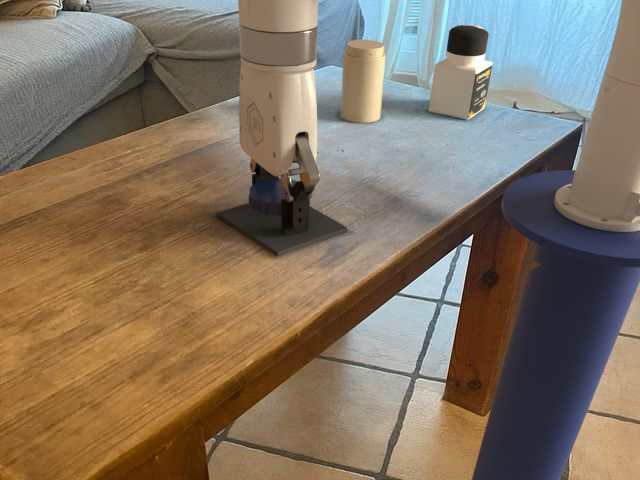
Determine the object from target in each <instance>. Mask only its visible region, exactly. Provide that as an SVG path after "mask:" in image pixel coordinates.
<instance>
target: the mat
mask: <svg viewBox="0 0 640 480" xmlns="http://www.w3.org/2000/svg"><path fill="white" fill-rule="evenodd" d="M216 216H217V218H219V219H221V220H222V221H224V222H225V223H226V224H228V225H229V226H231V227H232V228H234V229H235V230H237V231H239V232H240V233H242V234H243V235H244V236H246V237H247V238H249V239H251V240H252V241H253V242H255V243H256V244H258V245H260V246H261V247H263V248H264V249H265V250H267V251H268V252H270V253H272V254H273V255H275V256H276V257H280V256H283V255H286V254H289V253H292V252H294V251H297V250H299V249H302V248H305V247H307V246H310V245H313V244H316V243H319V242H322V241H324V240H327V239H330V238H332V237H335V236H338V235H341V234H344V233H346V232H348V227H347V226H345V225H343V224H342V223H340V222H338V221H336V220H335V219H333V218H331V217H329V216H327V215H326V214H324V213H322V212H321V211H319V210H317V209H315V208H314V207H312V206H310V205H309V229H308V230H307V231H304V232H299V233H295V234H291V235H284V234H283V233H282V229H281V215H270V214H265V213H262V212H259V211H257V210H255V209H254V208H252V206H250V202H248V203H244V204H241V205H238V206H234V207H231V208H227V209H225V210H221V211H217V212H216Z"/></svg>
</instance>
